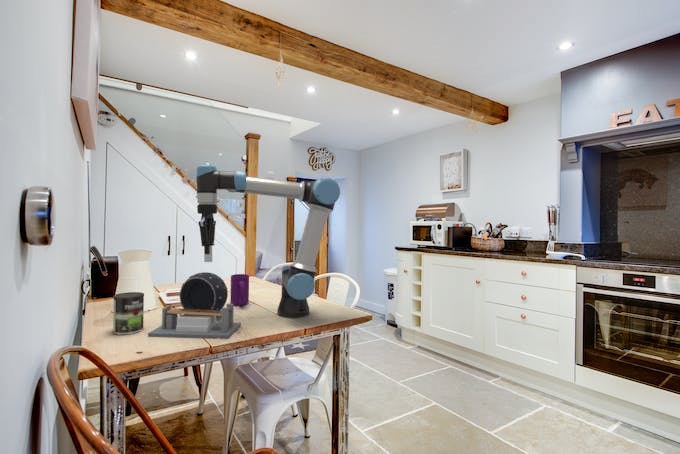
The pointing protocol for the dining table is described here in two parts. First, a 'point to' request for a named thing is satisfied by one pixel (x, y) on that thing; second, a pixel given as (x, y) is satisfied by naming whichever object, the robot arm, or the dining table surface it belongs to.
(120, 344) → the dining table surface
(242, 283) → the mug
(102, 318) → the dining table surface
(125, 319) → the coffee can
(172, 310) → the strap
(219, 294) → the black short cylinder
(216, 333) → the grey fixture stand
